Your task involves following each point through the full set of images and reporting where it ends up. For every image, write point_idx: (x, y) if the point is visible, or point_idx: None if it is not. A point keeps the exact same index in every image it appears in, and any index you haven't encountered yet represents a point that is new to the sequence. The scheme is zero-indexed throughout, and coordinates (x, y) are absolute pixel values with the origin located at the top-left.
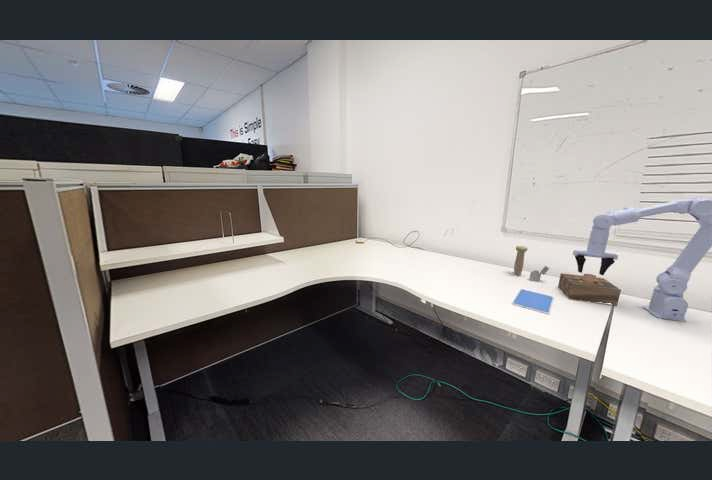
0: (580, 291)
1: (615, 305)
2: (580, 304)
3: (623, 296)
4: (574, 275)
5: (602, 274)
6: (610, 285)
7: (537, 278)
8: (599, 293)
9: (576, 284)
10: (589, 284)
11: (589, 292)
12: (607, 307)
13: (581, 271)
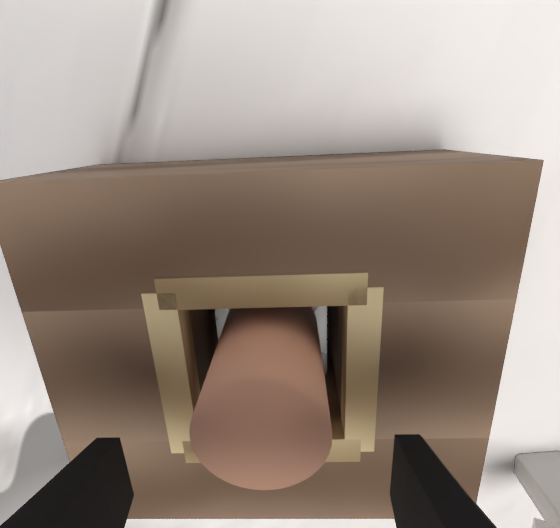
0: (393, 159)
1: (107, 164)
2: (395, 38)
3: (18, 393)
4: (351, 499)
5: (102, 446)
6: (68, 317)
7: (554, 474)
8: (216, 165)
9: (488, 163)
10: (305, 241)
11: (308, 162)
12: (180, 82)
13: (412, 450)
